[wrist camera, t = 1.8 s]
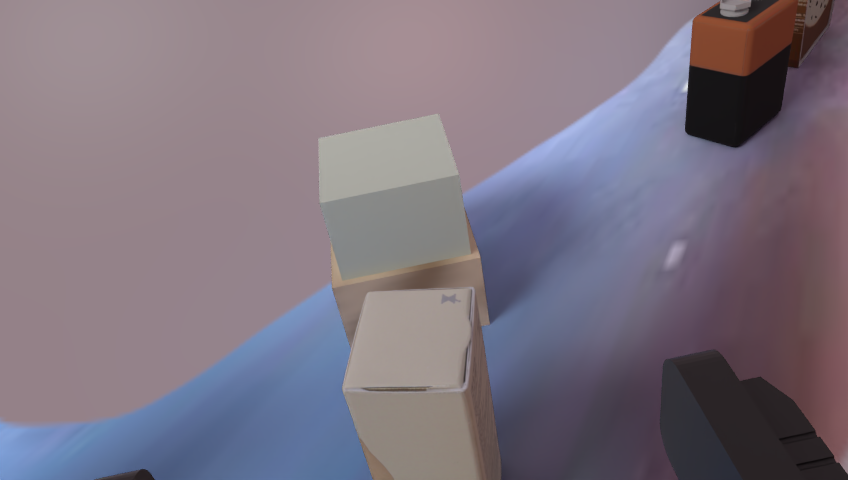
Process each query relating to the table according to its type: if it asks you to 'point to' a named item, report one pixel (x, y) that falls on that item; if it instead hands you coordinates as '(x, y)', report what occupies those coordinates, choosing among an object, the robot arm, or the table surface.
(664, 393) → the robot arm
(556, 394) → the table surface
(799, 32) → the food container
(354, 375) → the box
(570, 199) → the table surface
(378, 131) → the tower top
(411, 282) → the block
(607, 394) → the table surface
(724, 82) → the battery
